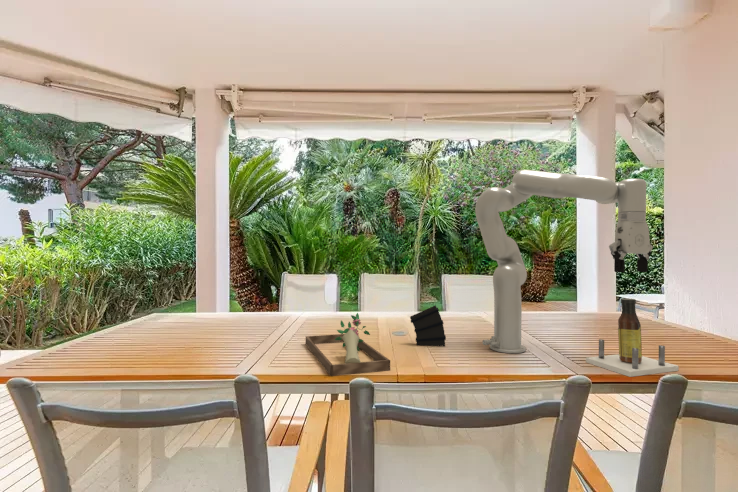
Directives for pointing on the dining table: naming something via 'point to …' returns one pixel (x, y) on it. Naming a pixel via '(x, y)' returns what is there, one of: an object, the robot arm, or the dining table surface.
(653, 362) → the standoff base
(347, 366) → the wooden frame
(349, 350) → the flower vase
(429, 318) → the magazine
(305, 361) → the dining table surface
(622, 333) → the sauce bottle
